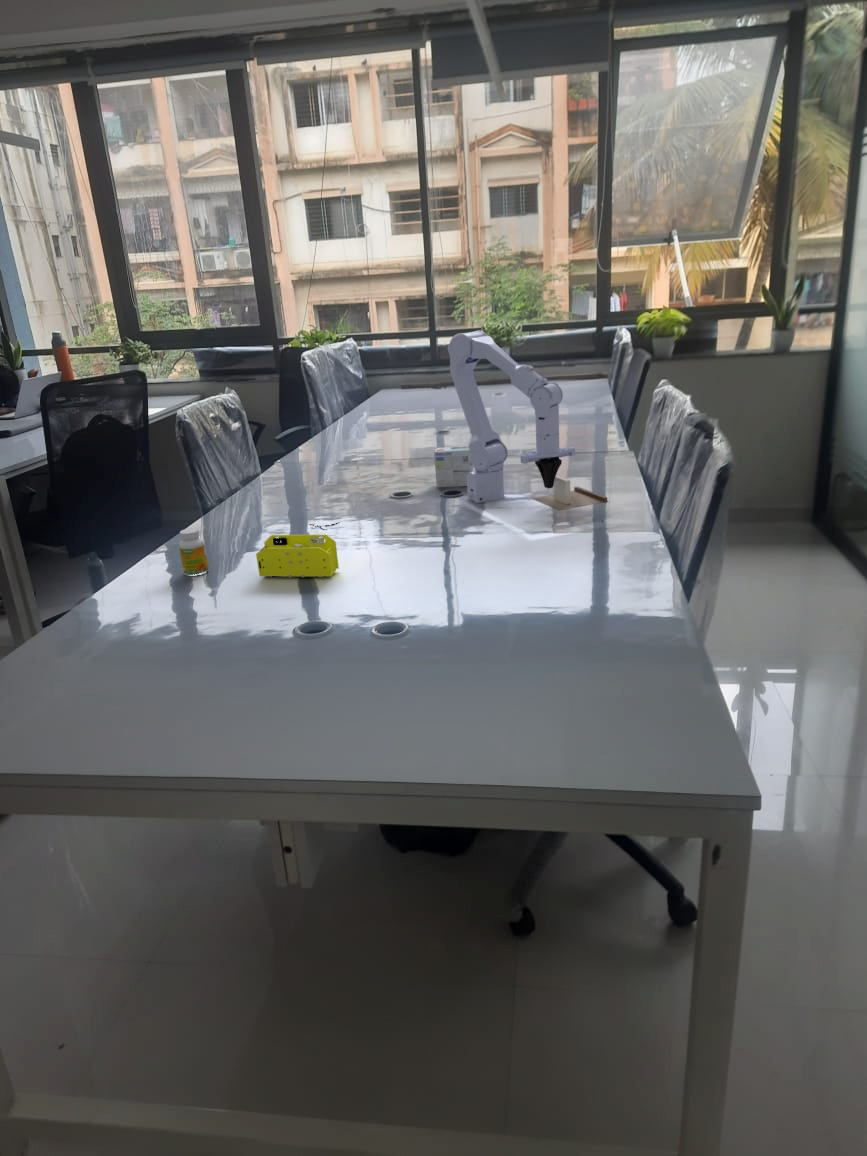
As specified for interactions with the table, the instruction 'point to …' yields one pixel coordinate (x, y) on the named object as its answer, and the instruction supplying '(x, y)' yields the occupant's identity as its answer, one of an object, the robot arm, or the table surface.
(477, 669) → the table surface
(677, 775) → the table surface
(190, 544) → the supplement bottle
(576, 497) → the board
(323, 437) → the table surface
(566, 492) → the tile
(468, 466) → the light bulb box
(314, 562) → the yellow toy chassis
